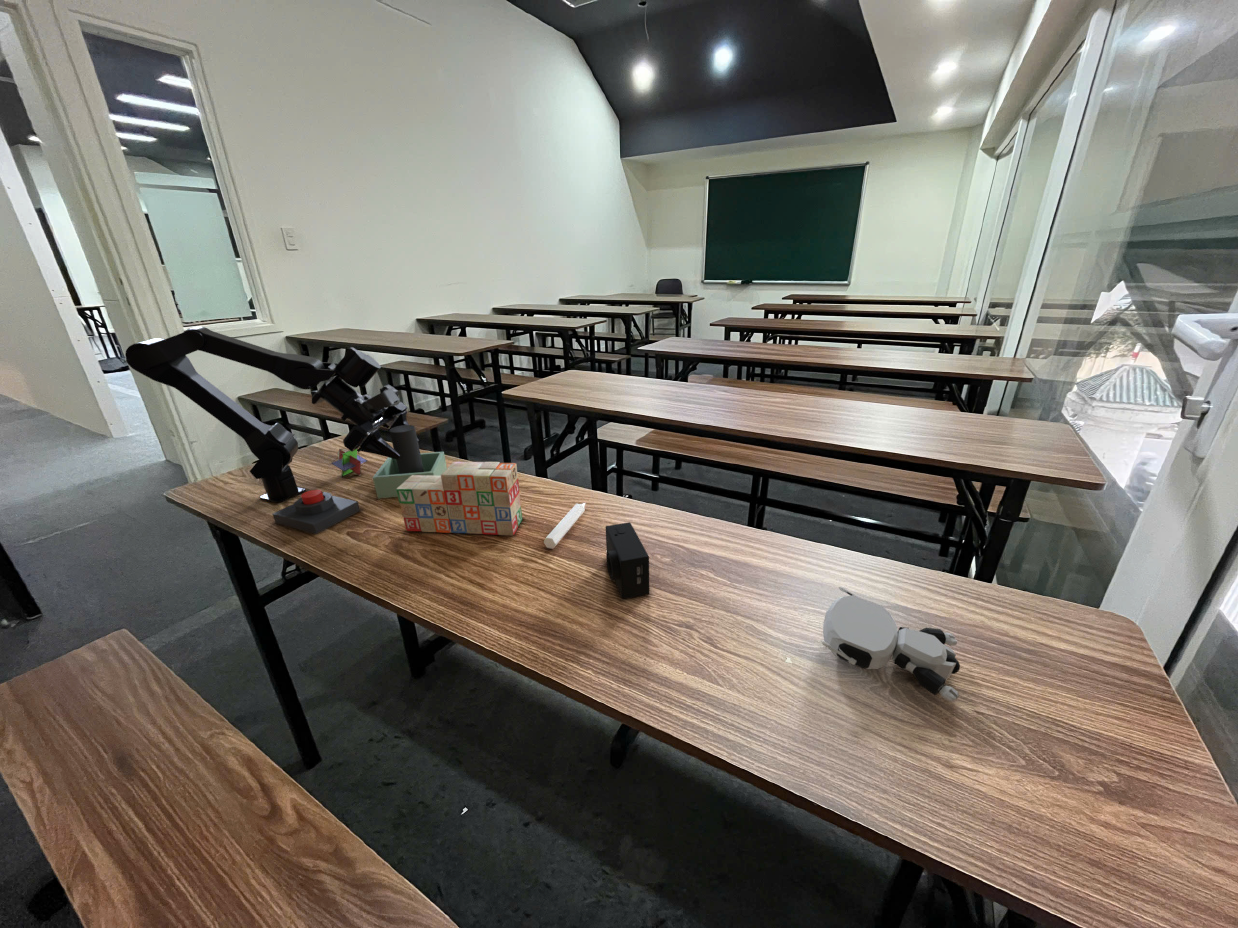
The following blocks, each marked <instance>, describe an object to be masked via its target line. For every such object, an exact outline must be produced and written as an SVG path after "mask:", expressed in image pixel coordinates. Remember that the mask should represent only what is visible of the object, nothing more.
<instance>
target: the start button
mask: <svg viewBox="0 0 1238 928" xmlns="http://www.w3.org/2000/svg"><path fill="white" fill-rule="evenodd" d="M322 492H323V491H322V490H321V489H310V490H308V491H307V490H306V491H305V492H303V493H301V494H300V498H302V501H303V504H305V505H308V504H314V503H318V502H320V501H322V500H324V497H323V494H322Z"/></svg>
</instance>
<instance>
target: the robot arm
mask: <svg viewBox="0 0 1238 928" xmlns="http://www.w3.org/2000/svg"><path fill="white" fill-rule="evenodd" d="M197 351H200V352H204V353H207V354H210V355H213V356H216V357H219V358H223V359H226V360H230V361H233V362H236V363H239V364H243V365H245V366H249V367H252V368H255V369H258V370H262V371H265V372H268V373H270V374H272V375H274V376H275V377H277V378H278V379H279V380H281V381H283V382H285V383H287V384H289V385H291V386H293V387H296V388H297V389H300V390H312V389H314V388H316V387H317V386H318V385H319V384H320V383H322V382H324V383H323V384H322V385H321V386H320V388H318V390H312V391H310V395H311V404H312V405H317V404H322V403H323V402H326V403H327V404H328V405H330V406H331V407H332V408H333V409H335V410H336V411H337V412H338V413H340V414H341V415H342V416H341V417H340V419H341V420H342V421H343V422H346V421H348V420H349V421H350V422H351V423H352V424H354V425H353V426H352V428H351V429H350V430H349V432H348V433H347V434H346V435H345V437H344V438H343V440H342V442H343V447H345V449H347V450H349V451H351V452H353V451H354V450H356V449H357V448H358V449H357V453H358V452H359V453H361V452H363V453H367V454H374V455H377V456H381V457H385V458H388V457H389V458H393V459H399V458H400V455H399V454H398V453H397V451H396V450H394V448H393V446H392V445H390V444H389V443H388V442H387V441H386V440H384V438H383V437H382V435H381V431H380V428H382V427H383V428H386V429H387V432H389V433H390V431H389V430H390V429H391V428H393V427H396V426H401V425H410V424H409V422H408V419H407V414H408V410H407V409H408V406H406V405H405V404H404V403H403V402H402V401H400V400H401V399H400V398H399V390H398V389H397V388H395V387H394V386H392V385H390V384H389V383H388V384H385V385H384V386H382V387H380V388H379V393H378V394H376V395H374V396H371V395H370V394H367V393H366V394H363V395H362V394H361V393H360V392H359V391H357V390H356V389H355V388H358V387H361V388H364V387H366V385H367V384H368V383H369V382H370V381H371V379H373V378H374V376H375V375H376V374H377V373H378V372H379V370H380V369H381V367H382V366H381V365H380V363H379V362H378V361H377V360H376V359H374V357H372V356H370V355H369V354H366V353H365V352H363V351H362V350H361V351H360V350H359V349H356V348H354V347H353V346H351V347H349V348H348V350H347V351H346V352H345V353H344V354H345V355H343V357H342V358H341V359H340V361H339V362H338V363H337V362H327V361H325V362H324V361H321V360H320V359H318V358H316V357H313V356H307V355H303V354H297V353H284V352H278V351H275V350H271V349H268V348H266V347H262V346H259V345H256V344H254V343H250V342H247V341H245V340H241V339H238V338H235V337H232V336H229V335H226V334H222V333H219V332H216V331H213V330H211V329H209V328H208V327H205V326H195V327H191V328H188V329H185V330H184V331H183V332H181V333H178V334H175V335H173V336H170V337H167V338H157V337H156V338H151V339H147V340H144V341H140V342H136V343H133V344H131V345H129V346H128V347H127V349H126V350H125V354H124V355H125V362H126V364H127V365H128V366H129V367H130V368H131V369H132V370H134V371H136V372H137V373H139V374H141V375H143V376H144V377H146V378H148V379H150V380H152V381H154V382H157V383H160V384H163V385H165V386H168V387H171V388H173V389H175V390H177V391H178V392H179V393H181V394H183V395H184V396H185V397H187V398H188V399H189V400H191V401H192V402H193V403H195V404H196V405H197V406H199V408H202V409H203V410H204V411H205V412H206V413H208V414H209V415H211V416H212V417H214V418H215V419H216V420H217V421H218V422H220V423H222V424H223V425H224V426H225V427H227V428H228V429H230V430H231V431H233V432H234V433H235V434H236V435H238V436H239V437H240V438H242V439H243V440H244V442H245V444H246V445H247V447H248V449H249V451H250V452H251V454H253V455H254V457H255V458H256V459H257V461H256V462H255V464H254V465H253V466H252V467H251V469H250V470H249V473H250V474H251V475H252V476H253V478H255V479H256V480H261V482H262V485H263V488H264V491H265V493H264V494H262V495H260V496H259V499H260V500H263V501H267V502H272V503H275V504H279V503H282V502H285V501H287V500H289V499H291V498H294V497H296V496H298V495H301V494H303V493H305V492H307V490H306V488H304V487H299V486H298V485H297V481H296V478H295V476H294V473H293V470H292V468H291V465H290V464H291V463H292V462H293V459H294V457H295V455H296V454H297V453H298V450H299V442H298V441H297V439H296V438H295V437H294V436H295V433H292V432H290V431H289V430H287V429H286V428H285V427H284V426H283V425H282V424H281V423H280V422H276V423H275V424H273V425H270V424H266V423H265V422H262V421H260V420H259V419H258V418H256V417H255V416H254V415H253V414H251V413H250V412H249V411H247V410H246V409H245V408H243V407H242V406H241V405H240V404H238V403H237V402H236V401H235V400H233V399H232V398H231V397H230V396H228V395H227V394H226V393H224V392H223V391H222V390H220V389H219V388H218V387H216V386H215V385H214V384H212V383H211V382H210V381H208V380H207V379H206V378H205V377H203V376H202V375H201V374H199V373H198V371H197V370H196V368H195V367H194V365H193V364H192V362H191V360H190V358H189V357H188V356H187V355H190V354H192V353H194V352H197ZM335 374H336V375H335ZM333 376H334V378H332V377H333ZM330 379H331V380H330ZM329 380H330V381H329ZM417 440H418V443H419V442H420V440H419V438H418V437H417Z"/></svg>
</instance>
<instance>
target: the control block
mask: <svg viewBox="0 0 1238 928" xmlns="http://www.w3.org/2000/svg"><path fill="white" fill-rule="evenodd" d="M322 494H323V497H324V500H322V501H320V502H318V503H314V504H308V505H305V504H303V501H302V498H301V497H300V498H298V499H296V500H295V502H294V503H292V504H291V505H288V506H286V507H284V508H281V509H279V510H277V511H275V512H273V513H272V517H273V520H274V523H275V524H278V525H281V526H285V527H287V528H292V529H297V530H299V531H302V532H306V533H310V534H312V535H313V534H314V535H318V534H319V533H322V532H323V531H325V530H327V529H328V528H331V527H333V526H334V525H336V524H338V523H340V522H342V521H344V520H345V519H348V518H349V517H351V516H353V515H355V514H357V513H358V512H360V511H361V507H360V504H359V501H358V500H353V499H348V498H344V497H340V496H336V495H332V493H331V492H326V491H322Z"/></svg>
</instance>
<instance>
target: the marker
mask: <svg viewBox="0 0 1238 928" xmlns="http://www.w3.org/2000/svg"><path fill="white" fill-rule="evenodd" d="M585 505H586V502H583V503H575V504H574V505H573V507H572V508H571V509H570V510H569V511H568V512H567V513H566V514H565V516H564V517H563V518H562V519H561V520H560V522H558V523H557V525H556V526H554V527H553V529H552V530H551V531H550V533H549V534H547V536H546V537H545V539H544V540H543V544H544V545H545V547H546V548H547V549H551V550H554V549H555V548H556V546H557V545H558V544H559V543H560V542H561V540H562V539H563V538H564V537H565V535H566V534H567V533H568V532H569V531H570V529H572V528H573V526H574V525H575V523H576V522H577V521H578V520H579V519H580V518H581V516H582V515H583V513H584V512H585V511H586V509H585Z"/></svg>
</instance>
